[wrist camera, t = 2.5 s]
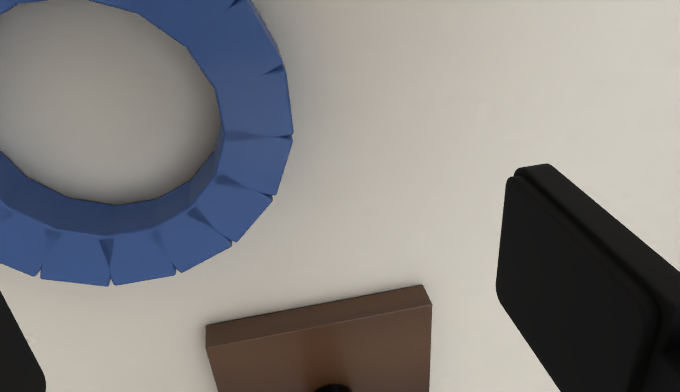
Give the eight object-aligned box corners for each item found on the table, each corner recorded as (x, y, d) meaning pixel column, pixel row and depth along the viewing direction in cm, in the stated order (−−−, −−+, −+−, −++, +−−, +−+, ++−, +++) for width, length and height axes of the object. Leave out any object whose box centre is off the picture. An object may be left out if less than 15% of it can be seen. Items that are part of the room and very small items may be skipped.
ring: (-207, -79, 12) (-265, -72, 11) (258, -118, 14) (262, -116, 12) (-12, 275, 18) (-33, 312, 17) (301, 223, 20) (308, 253, 18)
